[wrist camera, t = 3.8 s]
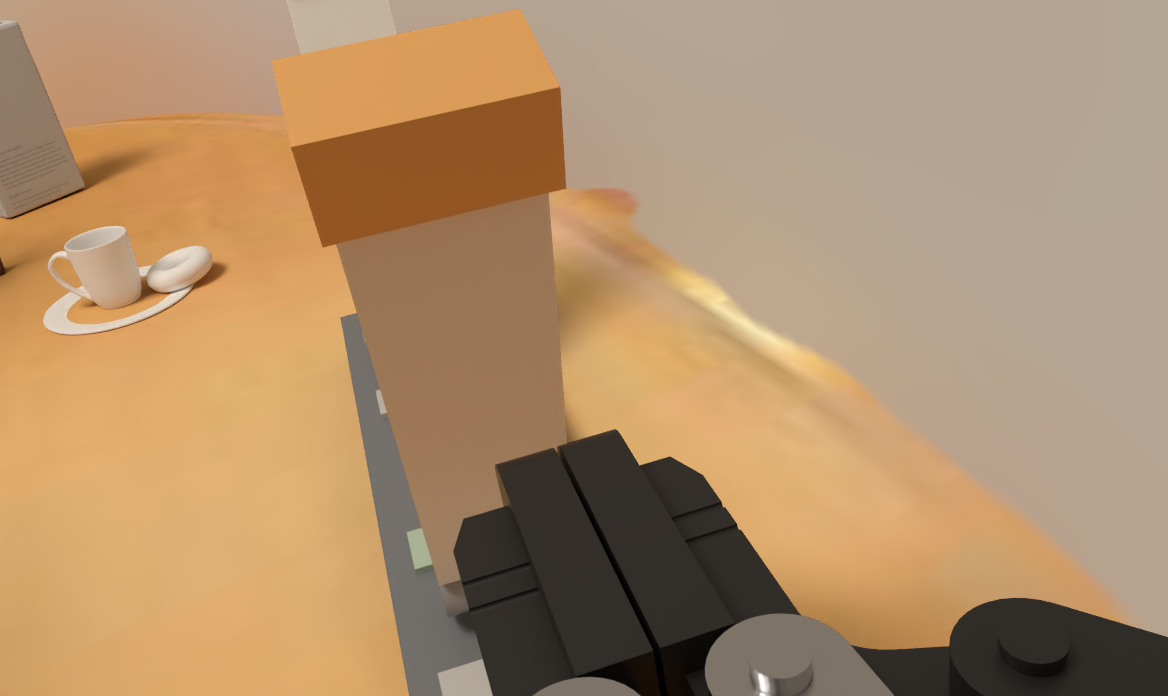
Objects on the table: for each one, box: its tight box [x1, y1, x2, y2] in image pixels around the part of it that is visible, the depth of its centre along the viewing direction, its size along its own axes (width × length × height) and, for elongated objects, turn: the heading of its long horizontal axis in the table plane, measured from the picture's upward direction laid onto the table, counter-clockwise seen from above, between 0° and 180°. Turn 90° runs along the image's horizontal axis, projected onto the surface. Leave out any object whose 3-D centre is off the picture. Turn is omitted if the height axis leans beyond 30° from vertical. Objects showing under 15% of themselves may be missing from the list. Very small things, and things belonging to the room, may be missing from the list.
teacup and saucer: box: [43, 226, 213, 335], centre depth 55 cm, size 9×8×4 cm
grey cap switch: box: [286, 0, 397, 54], centre depth 40 cm, size 4×2×16 cm, turn 107°
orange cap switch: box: [272, 9, 567, 618], centre depth 22 cm, size 4×2×16 cm, turn 107°
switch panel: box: [341, 313, 493, 696], centre depth 36 cm, size 6×25×2 cm, turn 16°
